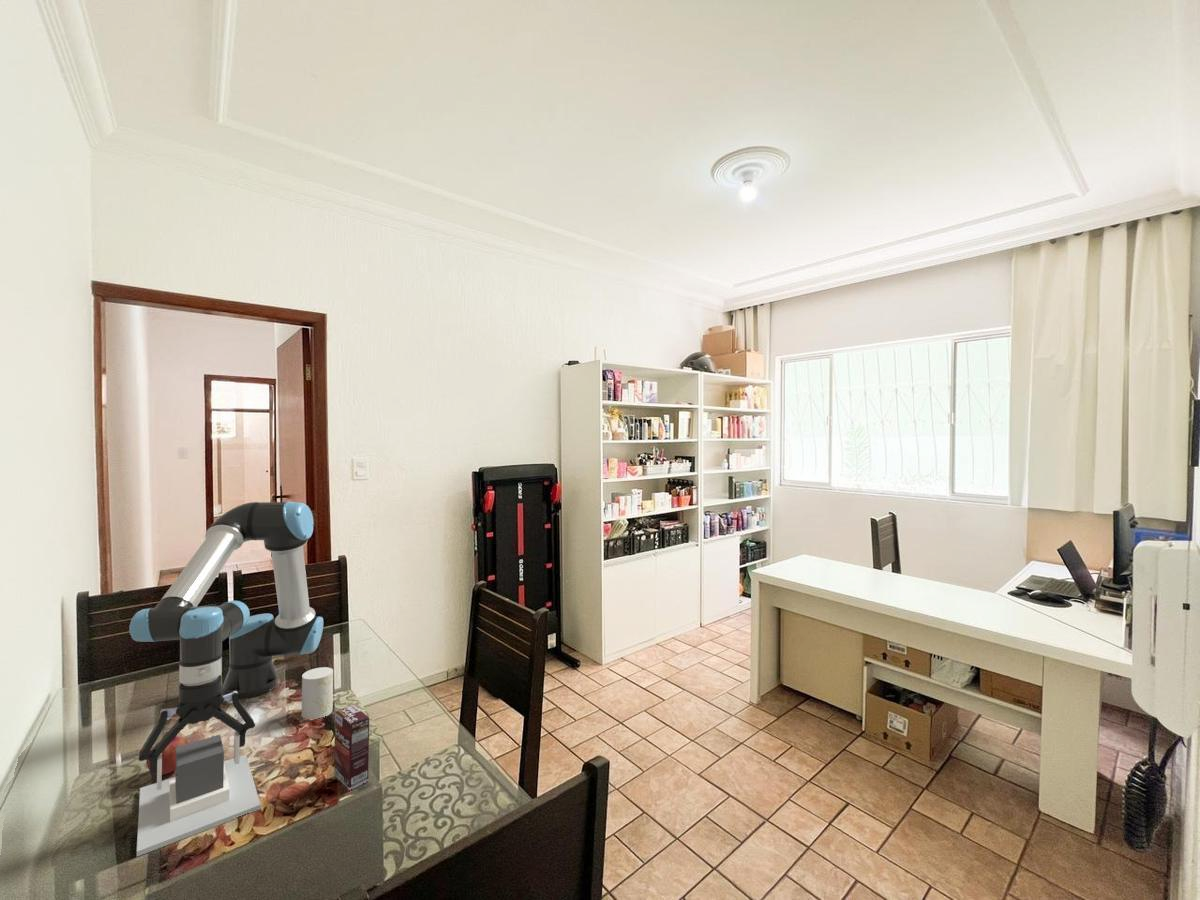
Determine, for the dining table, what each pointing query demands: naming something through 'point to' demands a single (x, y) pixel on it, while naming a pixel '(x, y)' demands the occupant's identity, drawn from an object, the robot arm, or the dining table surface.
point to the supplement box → (351, 747)
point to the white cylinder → (317, 693)
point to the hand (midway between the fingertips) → (199, 773)
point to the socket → (193, 808)
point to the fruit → (170, 754)
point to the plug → (199, 768)
